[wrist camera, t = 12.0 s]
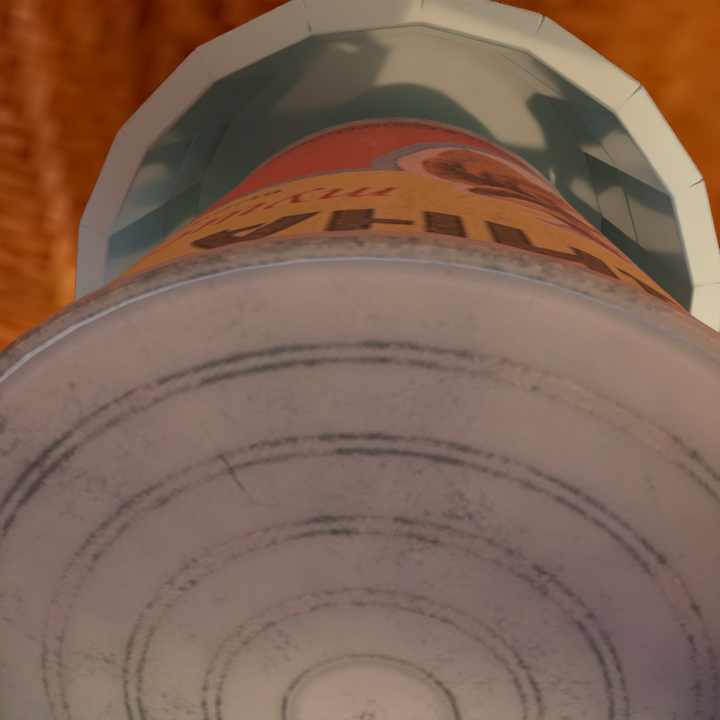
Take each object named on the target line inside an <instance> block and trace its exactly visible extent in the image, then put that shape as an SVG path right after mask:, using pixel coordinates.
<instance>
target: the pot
mask: <svg viewBox="0 0 720 720" xmlns="http://www.w3.org/2000/svg"><path fill="white" fill-rule="evenodd" d="M195 49H196V50H194V51H192V52H191V53H190V54H189V55H188V56H187V57H186V58H185V59H184V60H183V62H182V63H181V64H180V65H179V66H178V67H177V68H176V69H175V70H174V71H173V72H172V73H171V74H170V75H169V76H168V78H167V79H166V80H165V81H164V82H163V83H162V84H161V85H160V86H159V87H158V88H157V89H156V90H155V91H154V92H153V93H152V95H151V96H150V97H149V98H148V99H147V100H146V101H145V102H144V103H143V104H142V105H141V106H140V107H139V108H138V109H137V111H136V112H135V113H134V114H133V115H132V116H131V117H130V118H129V119H128V120H127V121H126V122H125V123H124V124H123V125H122V127H121V130H119V131H118V132H117V134H116V136H115V139H114V141H113V144H112V146H111V148H110V151H109V153H108V155H107V158H106V160H105V162H104V165H103V167H102V170H101V172H100V174H99V177H98V179H97V181H96V184H95V186H94V189H93V191H92V193H91V196H90V198H89V200H88V203H87V205H86V207H85V210H84V212H83V215H82V217H81V219H80V222H79V224H80V225H79V229H78V247H77V264H76V282H75V300H77V299H79V298H82V297H84V296H86V295H88V294H90V293H92V292H94V291H96V290H98V289H100V288H102V287H104V286H106V285H108V284H109V283H110V282H111V281H113V280H114V279H115V278H117V277H118V276H119V275H121V274H122V273H123V272H125V271H126V270H127V269H129V268H130V267H131V266H133V265H134V264H135V263H137V262H138V261H139V260H141V259H142V258H143V257H145V256H146V255H147V254H149V253H150V252H151V251H153V250H154V249H155V248H157V247H158V246H159V245H161V244H162V243H163V242H165V241H166V240H167V239H168V238H170V237H171V236H172V235H174V234H175V233H176V232H178V231H179V230H180V229H182V228H183V227H184V226H186V225H187V224H188V223H190V222H191V221H192V220H194V219H195V218H196V217H198V216H199V215H200V214H202V213H203V212H204V211H206V210H207V209H208V208H210V207H211V206H212V205H214V204H215V203H216V202H218V201H219V200H220V199H221V198H223V197H224V196H225V195H227V194H228V193H229V192H231V191H232V190H233V189H235V188H236V187H237V186H238V185H239V184H240V183H241V182H242V181H243V180H244V179H245V178H246V177H247V176H248V175H249V174H250V173H251V172H252V171H253V170H254V169H255V168H257V167H258V166H259V165H260V164H262V163H263V162H264V161H265V160H266V159H268V158H269V157H271V156H272V155H274V154H275V153H277V152H278V151H280V150H281V149H283V148H285V147H286V146H288V145H290V144H292V143H294V142H296V141H298V140H299V139H301V138H303V137H305V136H308V135H310V134H313V133H315V132H318V131H321V130H323V129H326V128H329V127H332V126H336V125H340V124H344V123H347V122H352V121H358V120H365V119H371V118H387V117H403V118H420V119H426V120H433V121H439V122H443V123H447V124H451V125H455V126H459V127H462V128H465V129H468V130H470V131H473V132H476V133H478V134H481V135H483V136H485V137H487V138H489V139H491V140H493V141H495V142H497V143H499V144H501V145H503V146H505V147H506V148H508V149H510V150H511V151H513V152H514V153H516V154H517V155H519V156H520V157H522V158H523V159H525V160H526V161H527V162H528V163H529V164H531V165H532V166H533V167H534V168H536V169H537V170H538V171H539V172H540V173H542V174H543V175H544V176H545V177H546V179H547V180H548V181H549V182H550V183H551V184H552V185H553V186H554V187H555V188H556V189H557V190H558V191H559V192H560V194H561V195H562V196H563V197H564V199H565V200H566V201H567V202H568V204H569V205H571V206H572V207H573V208H574V209H575V210H576V211H577V212H578V213H579V214H581V215H582V216H583V217H584V218H585V219H586V220H587V221H588V222H589V223H590V224H592V225H593V226H594V227H595V228H596V229H597V230H598V231H599V232H600V233H601V234H603V235H604V236H605V237H606V238H607V239H608V240H609V241H610V242H611V243H613V244H614V245H615V246H616V247H617V248H618V249H619V250H620V251H621V252H622V253H624V254H625V255H626V256H627V257H628V258H629V259H630V260H631V261H632V262H633V263H635V264H636V265H637V266H638V267H639V268H640V269H641V270H642V271H643V272H644V273H646V274H647V275H648V276H649V277H650V278H651V279H652V280H653V281H654V282H656V283H657V284H658V285H659V286H660V287H661V288H662V289H663V290H664V291H665V292H667V293H668V294H669V295H670V296H671V297H672V298H673V299H674V300H675V301H676V302H678V303H679V304H680V305H681V306H682V307H683V308H684V309H685V310H686V311H688V312H689V313H690V314H691V315H692V316H694V317H695V318H697V319H698V320H700V321H701V322H703V323H705V324H706V325H708V326H709V327H711V328H712V329H714V330H716V331H717V332H719V330H720V250H719V245H718V241H717V236H716V232H715V227H714V223H713V218H712V213H711V209H710V204H709V200H708V195H707V191H706V186H705V181H704V180H703V179H702V178H703V177H702V174H701V172H700V171H699V169H698V168H697V166H696V165H695V163H694V162H693V160H692V159H691V157H690V156H689V154H688V153H687V151H686V150H685V148H684V147H683V145H682V144H681V142H680V141H679V139H678V138H677V136H676V134H675V133H674V131H673V130H672V128H671V127H670V125H669V124H668V122H667V121H666V119H665V118H664V116H663V115H662V113H661V112H660V110H659V109H658V107H657V106H656V104H655V103H654V101H653V100H652V98H651V97H650V95H649V94H648V92H647V91H646V89H645V87H644V86H642V85H640V83H639V81H638V80H636V79H635V78H633V77H632V76H630V75H629V74H628V73H626V72H625V71H623V70H622V69H621V68H619V67H618V66H616V65H615V64H614V63H612V62H611V61H609V60H608V59H607V58H605V57H604V56H602V55H601V54H600V53H598V52H597V51H595V50H594V49H593V48H591V47H590V46H588V45H587V44H586V43H584V42H583V41H581V40H580V39H579V38H577V37H576V36H574V35H573V34H571V33H570V32H569V31H567V30H566V29H564V28H563V27H562V26H560V25H559V24H557V23H556V22H555V21H553V20H552V19H550V18H549V17H548V16H543V15H542V14H541V13H538V12H534V11H530V10H527V9H523V8H519V7H515V6H511V5H507V4H504V3H500V2H496V1H492V0H291V1H289V2H287V3H285V4H283V5H281V6H279V7H277V8H275V9H273V10H271V11H268V12H266V13H264V14H262V15H260V16H258V17H256V18H254V19H252V20H250V21H248V22H246V23H244V24H242V25H240V26H238V27H236V28H234V29H232V30H230V31H228V32H226V33H224V34H222V35H220V36H218V37H216V38H214V39H212V40H210V41H208V42H206V43H204V44H202V45H200V46H198V47H196V48H195ZM75 300H74V301H75Z"/></svg>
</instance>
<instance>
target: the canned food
mask: <svg viewBox="0 0 720 720" xmlns="http://www.w3.org/2000/svg"><path fill="white" fill-rule="evenodd" d="M0 720H720V333H719V332H717V331H716V330H714V329H712V328H711V327H709V326H708V325H706V324H705V323H703V322H701V321H700V320H698V319H697V318H695V317H694V316H692V315H691V314H690V313H689V312H688V311H686V310H685V309H684V308H683V307H682V306H681V305H680V304H679V303H678V302H676V301H675V300H674V299H673V298H672V297H671V296H670V295H669V294H668V293H667V292H665V291H664V290H663V289H662V288H661V287H660V286H659V285H658V284H657V283H656V282H654V281H653V280H652V279H651V278H650V277H649V276H648V275H647V274H646V273H644V272H643V271H642V270H641V269H640V268H639V267H638V266H637V265H636V264H635V263H633V262H632V261H631V260H630V259H629V258H628V257H627V256H626V255H625V254H624V253H622V252H621V251H620V250H619V249H618V248H617V247H616V246H615V245H614V244H613V243H611V242H610V241H609V240H608V239H607V238H606V237H605V236H604V235H603V234H601V233H600V232H599V231H598V230H597V229H596V228H595V227H594V226H593V225H592V224H590V223H589V222H588V221H587V220H586V219H585V218H584V217H583V216H582V215H581V214H579V213H578V212H577V211H576V210H575V209H574V208H573V207H572V206H571V205H569V204H568V202H567V201H566V200H565V199H564V197H563V196H562V195H561V194H560V192H559V191H558V190H557V189H556V188H555V187H554V186H553V185H552V184H551V183H550V182H549V181H548V180H547V179H546V177H545V176H544V175H543V174H542V173H540V172H539V171H538V170H537V169H536V168H534V167H533V166H532V165H531V164H529V163H528V162H527V161H526V160H525V159H523V158H522V157H520V156H519V155H517V154H516V153H514V152H513V151H511V150H510V149H508V148H506V147H505V146H503V145H501V144H499V143H497V142H495V141H493V140H491V139H489V138H487V137H485V136H483V135H481V134H478V133H476V132H473V131H470V130H468V129H465V128H462V127H459V126H455V125H451V124H447V123H443V122H439V121H433V120H426V119H420V118H403V117H387V118H371V119H365V120H358V121H352V122H347V123H344V124H340V125H336V126H332V127H329V128H326V129H323V130H321V131H318V132H315V133H313V134H310V135H308V136H305V137H303V138H301V139H299V140H298V141H296V142H294V143H292V144H290V145H288V146H286V147H285V148H283V149H281V150H280V151H278V152H277V153H275V154H274V155H272V156H271V157H269V158H268V159H266V160H265V161H264V162H263V163H262V164H260V165H259V166H258V167H257V168H255V169H254V170H253V171H252V172H251V173H250V174H249V175H248V176H247V177H246V178H245V179H244V180H243V181H242V182H241V183H240V184H239V185H238V186H237V187H236V188H235V189H233V190H232V191H231V192H229V193H228V194H227V195H225V196H224V197H223V198H221V199H220V200H219V201H218V202H216V203H215V204H214V205H212V206H211V207H210V208H208V209H207V210H206V211H204V212H203V213H202V214H200V215H199V216H198V217H196V218H195V219H194V220H192V221H191V222H190V223H188V224H187V225H186V226H184V227H183V228H182V229H180V230H179V231H178V232H176V233H175V234H174V235H172V236H171V237H170V238H168V239H167V240H166V241H165V242H163V243H162V244H161V245H159V246H158V247H157V248H155V249H154V250H153V251H151V252H150V253H149V254H147V255H146V256H145V257H143V258H142V259H141V260H139V261H138V262H137V263H135V264H134V265H133V266H131V267H130V268H129V269H127V270H126V271H125V272H123V273H122V274H121V275H119V276H118V277H117V278H115V279H114V280H113V281H111V282H110V283H109V284H108V285H106V286H104V287H102V288H100V289H98V290H96V291H94V292H92V293H90V294H88V295H86V296H84V297H82V298H79V299H77V300H75V301H73V302H72V303H70V304H69V305H67V306H65V307H64V308H62V309H61V310H59V311H58V312H56V313H55V314H53V315H51V316H50V317H48V318H47V319H45V320H44V321H42V322H41V323H39V324H37V325H36V326H34V327H33V328H31V329H30V330H28V331H27V332H25V333H24V334H23V335H21V336H20V337H18V338H17V339H16V340H15V341H13V342H12V343H11V344H10V345H9V346H7V347H6V348H5V349H4V350H3V351H1V352H0Z"/></svg>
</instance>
